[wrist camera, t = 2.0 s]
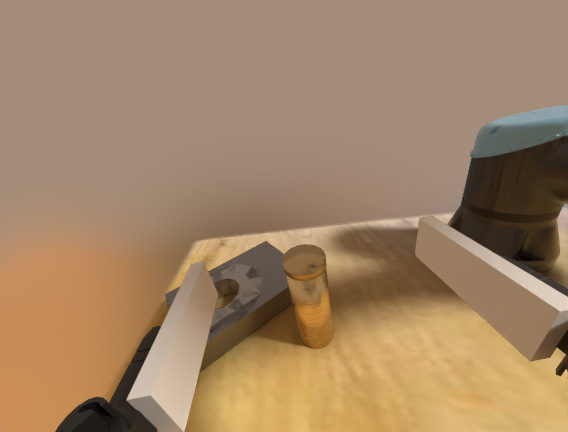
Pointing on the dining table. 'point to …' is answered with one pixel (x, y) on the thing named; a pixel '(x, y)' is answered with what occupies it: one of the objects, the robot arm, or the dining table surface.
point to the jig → (244, 298)
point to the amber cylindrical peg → (309, 293)
